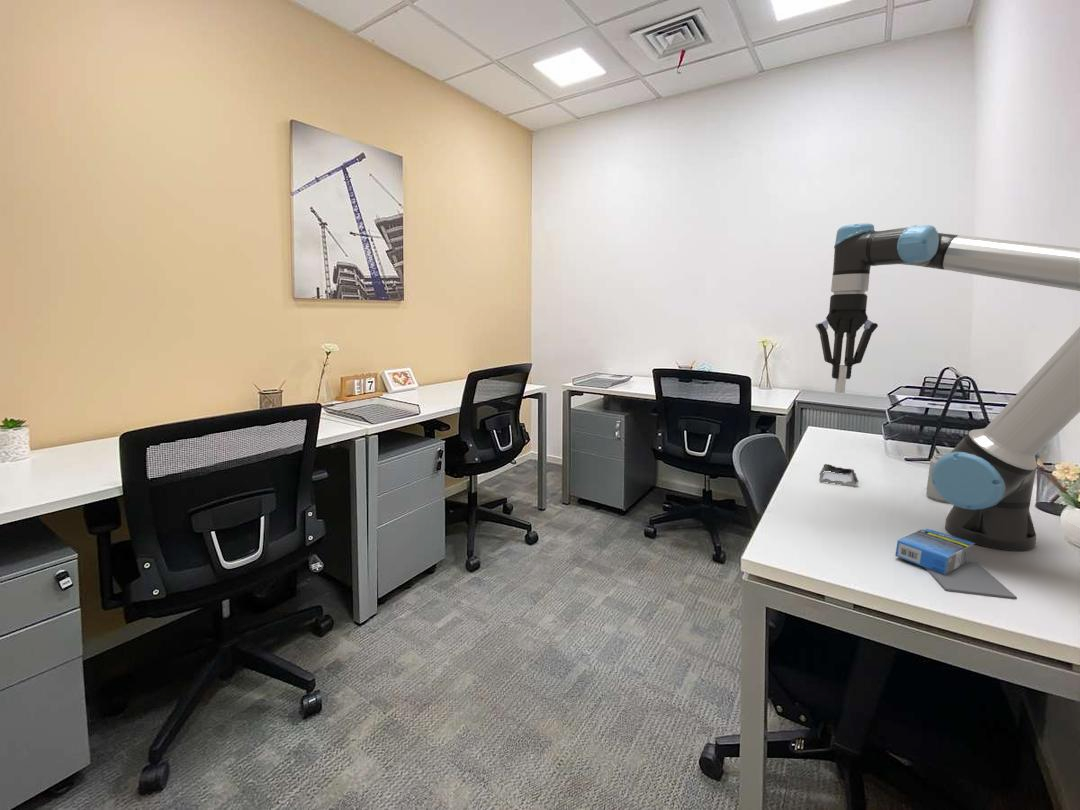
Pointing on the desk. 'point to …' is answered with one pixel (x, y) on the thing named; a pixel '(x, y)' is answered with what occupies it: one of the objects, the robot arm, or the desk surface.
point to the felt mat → (972, 581)
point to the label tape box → (933, 550)
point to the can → (930, 488)
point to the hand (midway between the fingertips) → (839, 392)
